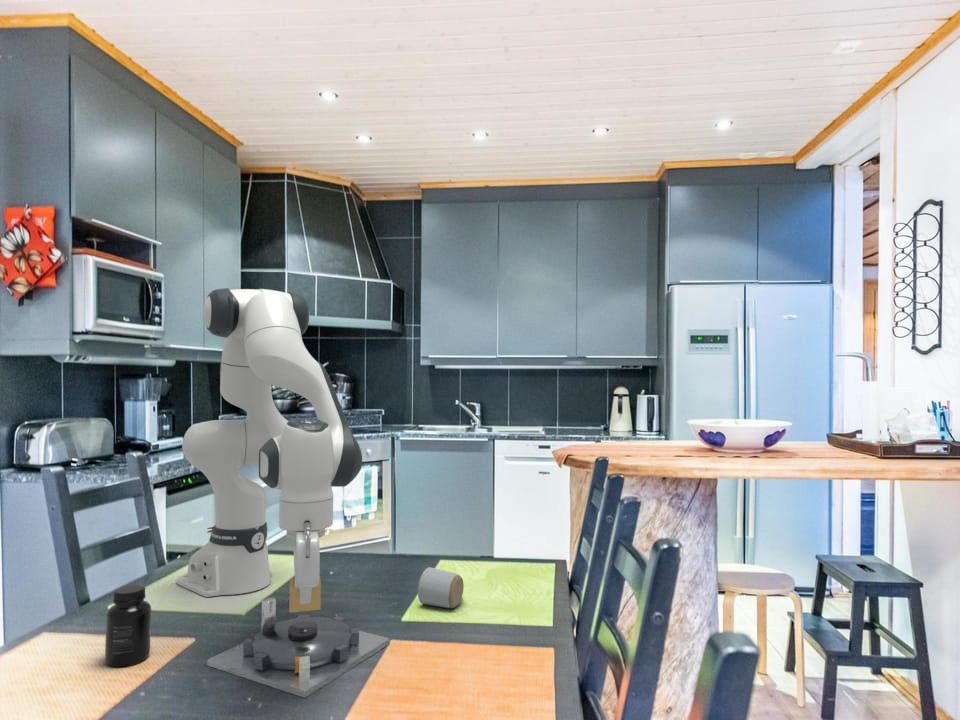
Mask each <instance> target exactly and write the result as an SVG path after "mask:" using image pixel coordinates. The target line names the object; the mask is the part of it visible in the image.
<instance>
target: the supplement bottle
mask: <svg viewBox="0 0 960 720" xmlns="http://www.w3.org/2000/svg"><path fill="white" fill-rule="evenodd" d="M145 599H146V586H144V585H137V584H134V585H133V584H132V585H127V586H123V587H122V586H121V587H119V588H116V589H115V590H113V598H112V603H113V605H112V606H111V607H109V608H108V609H107V612H106V617H105V645H104V647H105V650H104V656H105V657H104V661H105V664H106V665H107V666H109V667H113V668H123V667H129V666H133V665H137V664H139V663H141V662H143V661H145V660H146V659H147V658H148V657H149V656H150V653H151V635H152V633H151V631H152V630H151V629H152V606H151V604H150V603H149V602H148V601H146V600H145Z"/></svg>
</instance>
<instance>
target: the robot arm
mask: <svg viewBox="0 0 960 720" xmlns="http://www.w3.org/2000/svg"><path fill="white" fill-rule="evenodd" d="M308 303H309V302H307V300H306V298H305V297H304V296H303V295H301V294H299V293H296V292H292V291H287V292H286V291H285V292H284V291H279V290H273V289H269V288H267V289H265V288H258V289H257V288H256V289H253V288H251V289H250V288H242V289H241V288H237V289H236V288H235V289H234V288H233V289H230V288H228V287H225V288H217V289H213V290H212V291H210V293H209V294H208V295H207V297H206V300H205V302H204V304H203V309H202V317H203V320H204V323H205V327H206V329H207V331H208V332H209V333H210V334H211V335H213V336H215V337H219V338H224V339H223V346H222V352H221V363H220V364H221V365H220V383H219V384H220V385H219V392H220V394H221V397H223V399H224V400H225V401H226V402H228V403H229V404H231V405H233V406H235V407H237V408H240V409H242V410H243V411H245V412H246V418H243V419H214V420H207V421H201V422H198V423H194V424H191V426H190V427H189V428H187V430H186V431H185V433H184V436H183V438H182V443H181V444H182V445H181V446H182V447H181V448H182V453H183V455H184V457H185V459H186V460H187V462H189V464H191V466H193V467H195V468H196V469H197V470H199V471H200V472H201V473H203V475H204V476H205V477H206V478H207V480H208V482H209V484H210V486H211V488H212V490H213V496H214V502H215V503H214V506H215V523H214V524H215V525H214V526H212V527H211V526H210V527H207V528H206V529H207V530H208V531H206V533H207V534H209V533H211V534H210V537H209V539H208V540H209V541H208V542H207V543H205V544H204V545H202V547H200V548H199V549H198V550H197V551H195V553H193V554H192V555H191V556H190V558H189V561H188V566H187V573H184V574H183V575H181V576H179V577H178V578H176V580H175V584H177V585H179V586H180V587H183V588H185V589H187V590H189V591H192V592H193V593H196V594H198V595H200V596H202V597H204V598H208V597H210V598H211V597H218V596H224V595H225V596H226V595H227V596H229V595H241V594H247V593H252V592H256V591H259V590H262V589H265V588H266V587H267V586H269V585H270V584H271V583H272V578H271V576H272V570H271V569H270V563H269V561H270V560H269V552H268V551H269V550H268V543H267V542H266V541H267V537H268V523H267V521H266V513H267V512H266V507H267V506H266V504H267V503H266V502H267V501H266V500H267V494H266V491H265V489H264V487H263V486H262V485H260V484H259V483H258V482H255V481H252V480H251V479H248V478H246V477H243V476H242V475H241V474H240V467H243V466H258V478H259V479H260V480H261V481H262V482H263V483H264V484H265V485H267V486H268V487H270V488H271V489H276V490H281V492H280V495H279V500H278V501H279V502H278V503H279V505H278V506H279V507H278V510H279V512H278V528H279V529H280V530H283V531H286V538H288V539H289V540H291V541H292V542H291V543H292V552H293V571H294V573H293V574H294V579H295V586H296V588H299V589H300V604H309V603H310V602H311V591H312V587H316V586H318V584H319V577H320V562H321V561H320V551H321V550H320V548H321V547H320V538H322V537H324V536H325V535H326V529H328V528H330V527H331V526H333V525H334V524H333V523H334V492H333V488H332V487H335V488H337V487H339V488H340V487H341V488H342V487H343V488H344V487H346V486H348V485H349V484H351V482H353V481H354V479H356V477H357V476H358V475H359V473H360V472H361V470H362V466H363V455H362V449H361V447H360V443H359V442H358V441H357V438H356V437H355V435H354V434H353V432H352V430H351V428H350V426H349V423H348V422H347V421H348V420H347V419H346V417H345V414H344V411H343V408H342V406H341V403H340V401H339V398H338V395H337V393H336V390H335V387H334V385H333V383H332V380H331V378H330V375H329V373H328V371H327V369H326V368H325V366H324V365H323V364H322V363H320V362H319V361H317V360H316V359H315V358H314V357H313V356H312V355H311V354H310V352H309V351H308V349H307V348H306V345H305V344H304V341H303V337H302V335H303V334H305V333H306V331H307V329H308V326H309V323H310V316H311V315H310V308H309V304H308ZM272 386H273V387H277V388H280V389H283V390H287V391H290V392H292V393H295V394H297V395H299V396H301V397H303V398H305V399H306V400H307V401H308V402H309V403H310V404H311V406H312V408H313V410H314V413H315V415H316V418H317V419H315V418H295V419H291V420H287V419H286V418H285V416H283V415H282V414H281V412H280V411H279V410H278V409H277V407H276V404H275V402H274V399H273V394H272Z"/></svg>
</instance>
